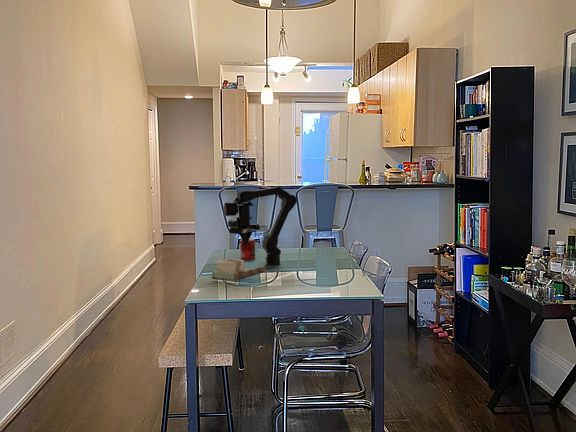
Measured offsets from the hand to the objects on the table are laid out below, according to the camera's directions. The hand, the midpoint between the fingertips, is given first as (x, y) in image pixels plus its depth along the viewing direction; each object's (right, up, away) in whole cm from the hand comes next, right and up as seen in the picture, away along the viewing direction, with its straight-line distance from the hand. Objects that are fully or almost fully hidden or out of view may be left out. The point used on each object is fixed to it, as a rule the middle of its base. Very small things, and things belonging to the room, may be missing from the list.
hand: (245, 245), depth 290 cm
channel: (-1, -14, -17) cm, 22 cm away
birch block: (-5, -14, -22) cm, 27 cm away
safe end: (-5, -14, -22) cm, 27 cm away
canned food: (-1, -9, +31) cm, 32 cm away
